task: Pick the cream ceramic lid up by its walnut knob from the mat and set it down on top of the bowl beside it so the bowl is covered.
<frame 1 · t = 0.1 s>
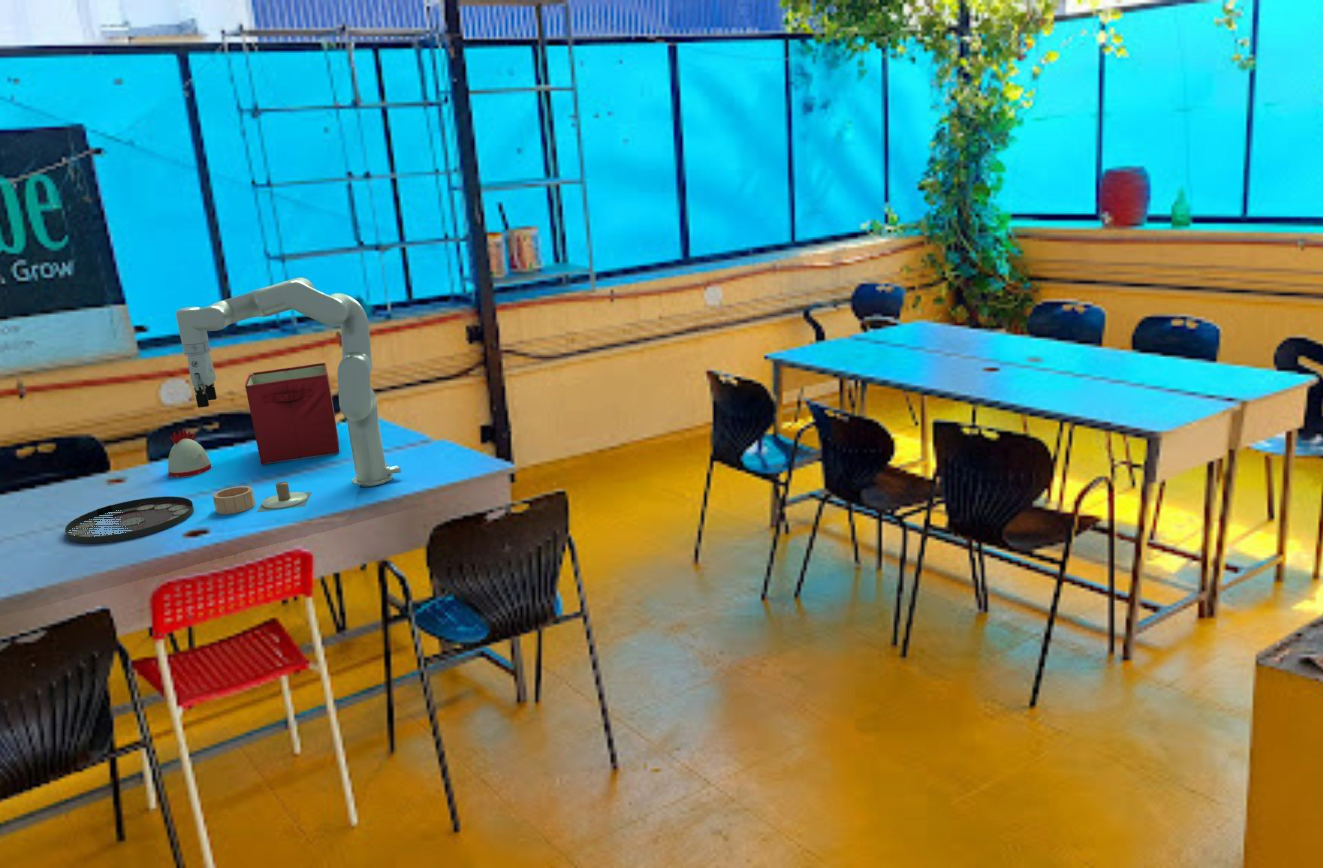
hand: (207, 403, 337), 31 cm above the table, fingers open, 9 cm apart
lid: (285, 501, 334), point 1 cm above the table, touching mat
bowl: (236, 510, 333), on the table
mat: (285, 504, 334), on the table
storage cube: (300, 452, 396), on the table
palette wheel: (132, 524, 331), on the table
kitchen timer: (190, 471, 383), on the table
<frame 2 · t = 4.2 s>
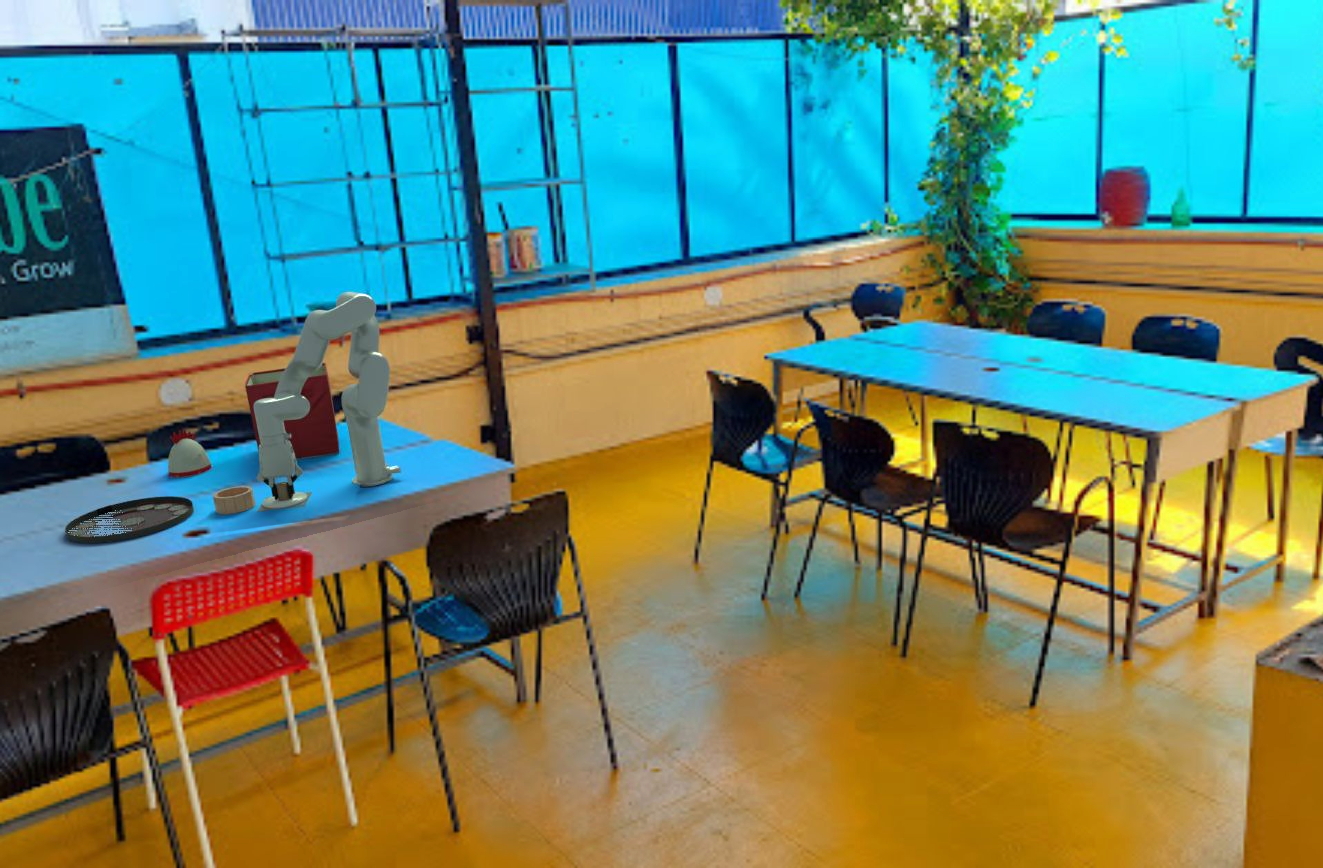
hand: (284, 497, 334), 2 cm above the table, fingers closed on lid, 3 cm apart
lid: (285, 501, 334), point 1 cm above the table, touching gripper, mat
everything else where it was.
when the fingers open (9 cm above the table, at t = 9.9 s): lid drops 1 cm, resting on bowl.
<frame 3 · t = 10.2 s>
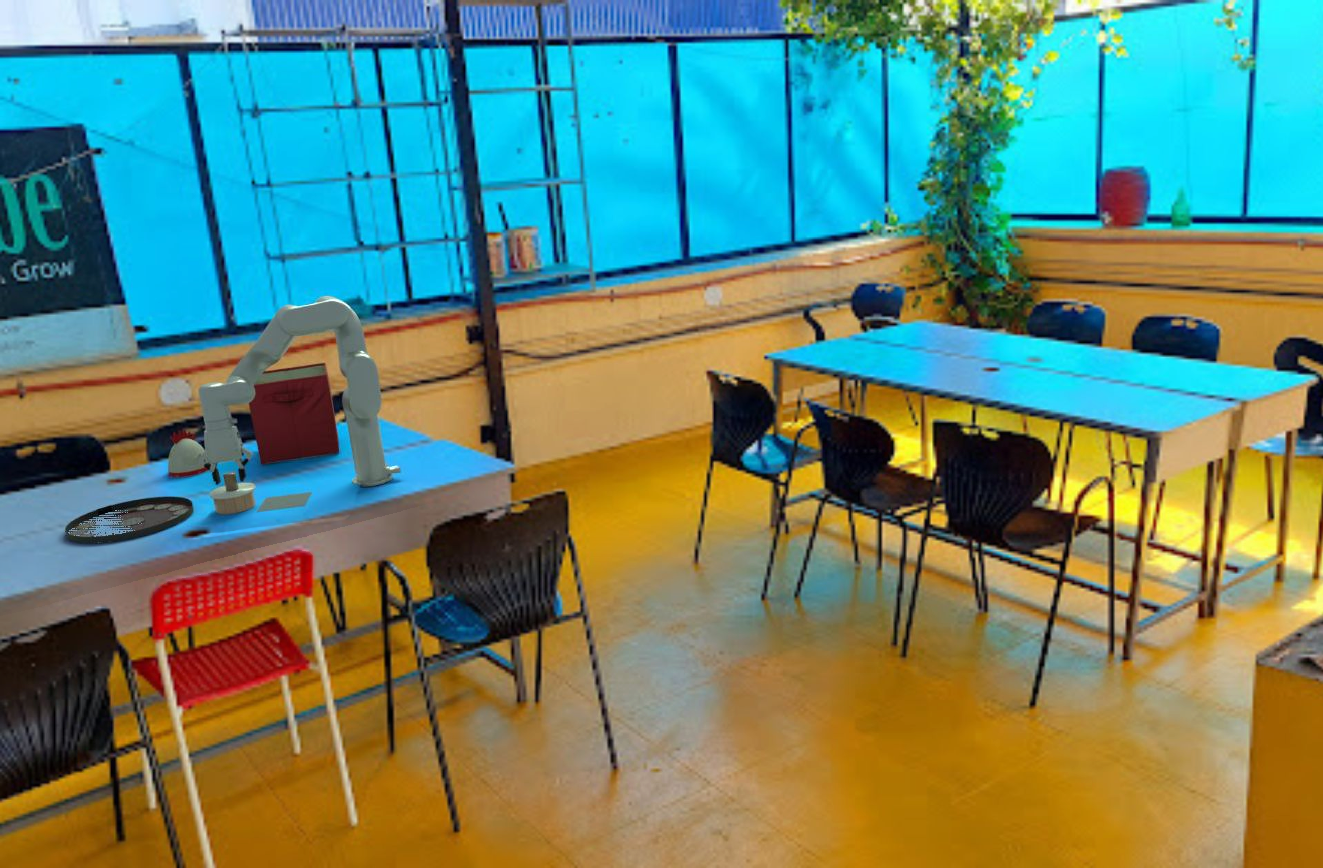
hand: (230, 481, 330), 9 cm above the table, fingers open, 6 cm apart
lid: (232, 492, 331), point 6 cm above the table, touching bowl
everything else where it was.
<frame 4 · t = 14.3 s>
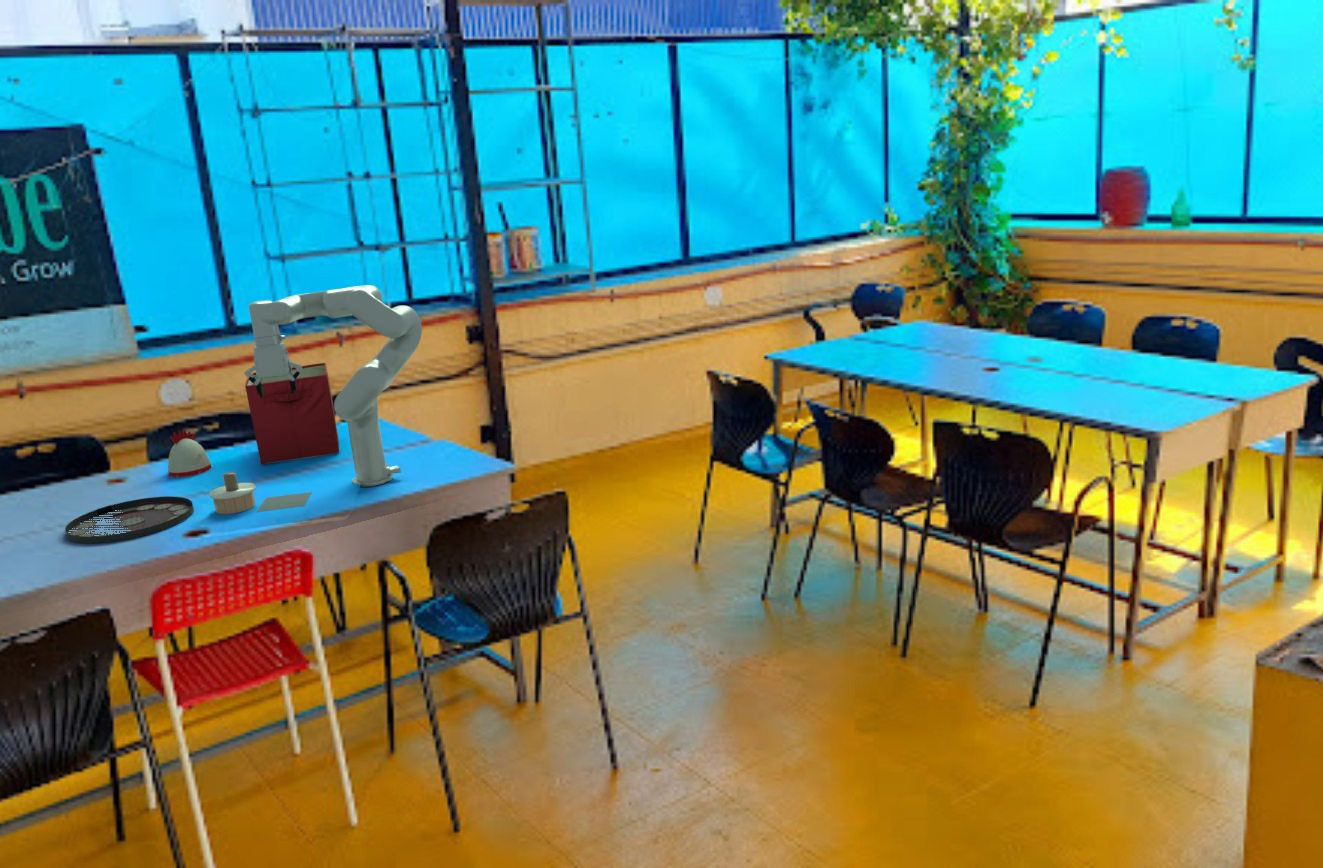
hand: (278, 394, 344), 30 cm above the table, fingers open, 9 cm apart
nothing on the table moved.
at the end: lid 0.1 cm off-centre on the bowl, point 6.0 cm above the bowl's base; lid tilted 0°; lid touching bowl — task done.
